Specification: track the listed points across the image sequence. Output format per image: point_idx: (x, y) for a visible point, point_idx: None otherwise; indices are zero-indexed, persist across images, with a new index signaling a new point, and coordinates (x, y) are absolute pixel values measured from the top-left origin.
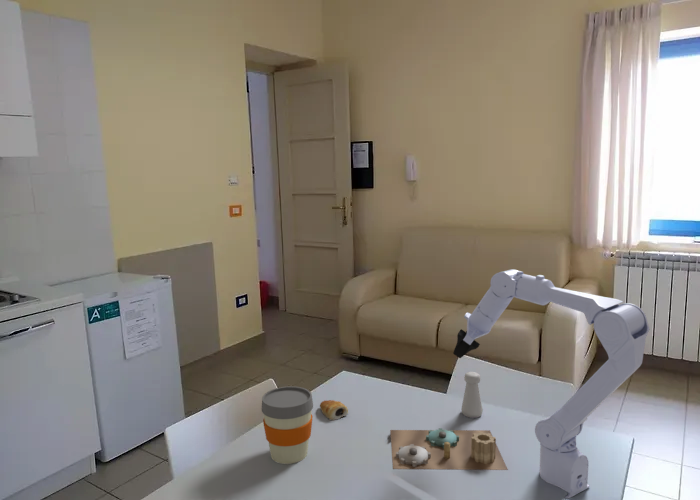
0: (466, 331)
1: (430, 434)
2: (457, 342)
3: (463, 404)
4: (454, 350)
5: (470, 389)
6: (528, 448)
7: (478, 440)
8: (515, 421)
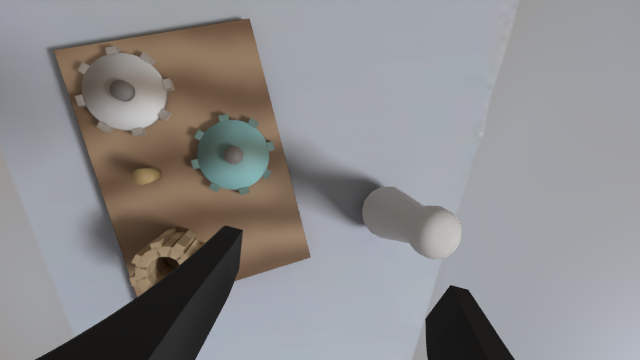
0: (482, 352)
1: (234, 124)
2: (89, 329)
3: (384, 194)
4: (205, 244)
5: (400, 221)
6: (270, 335)
7: (143, 261)
8: (382, 301)
